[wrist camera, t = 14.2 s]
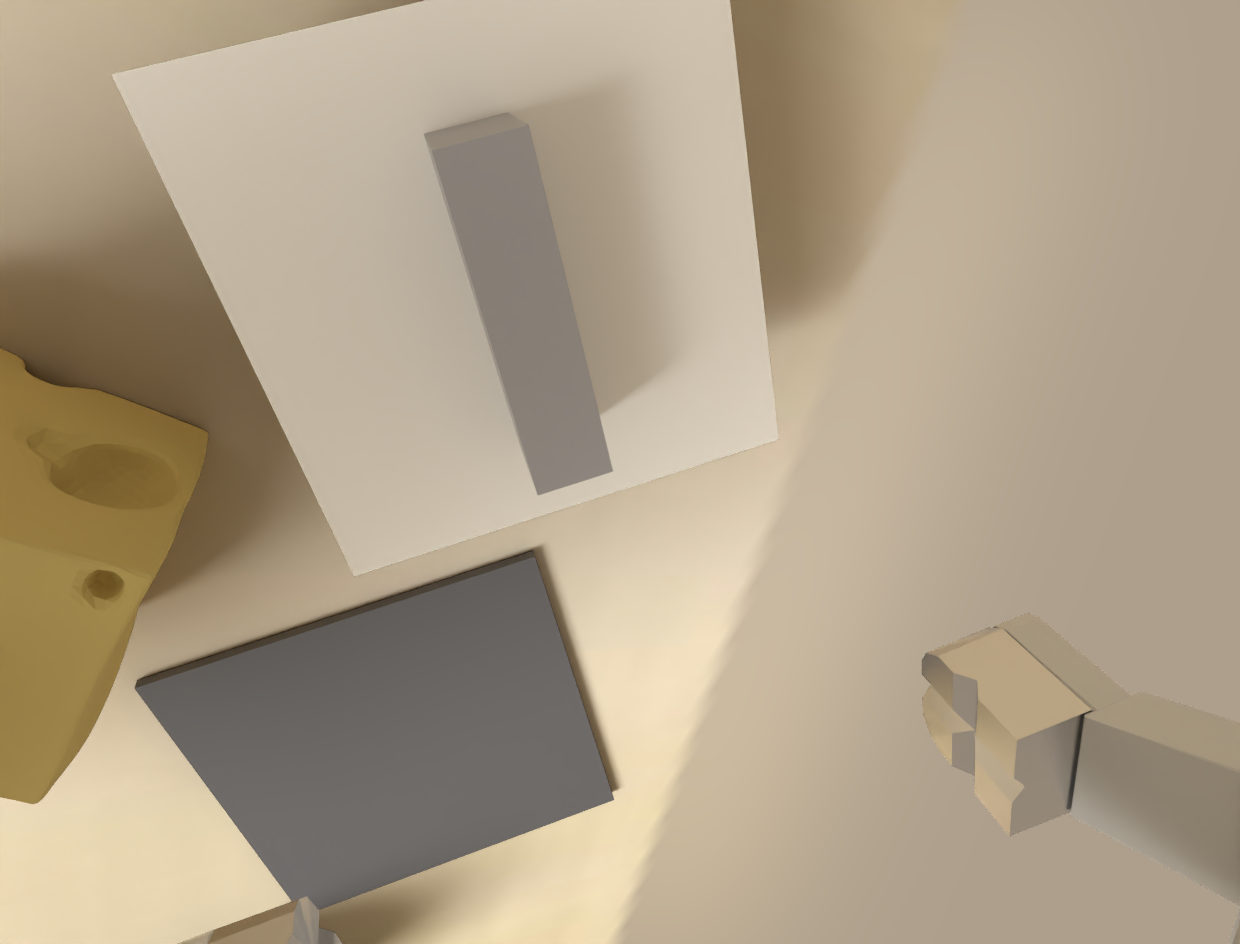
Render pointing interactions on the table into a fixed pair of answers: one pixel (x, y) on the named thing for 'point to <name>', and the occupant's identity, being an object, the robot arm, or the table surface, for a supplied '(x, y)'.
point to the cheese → (76, 557)
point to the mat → (391, 732)
